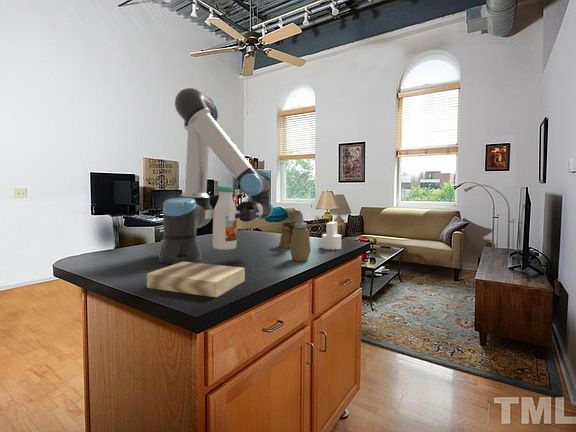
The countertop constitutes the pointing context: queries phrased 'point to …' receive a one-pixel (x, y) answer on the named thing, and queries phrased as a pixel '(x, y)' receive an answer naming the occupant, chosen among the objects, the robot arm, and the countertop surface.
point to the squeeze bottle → (300, 241)
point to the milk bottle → (224, 221)
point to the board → (196, 278)
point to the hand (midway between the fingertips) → (217, 215)
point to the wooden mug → (288, 230)
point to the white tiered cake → (331, 237)
